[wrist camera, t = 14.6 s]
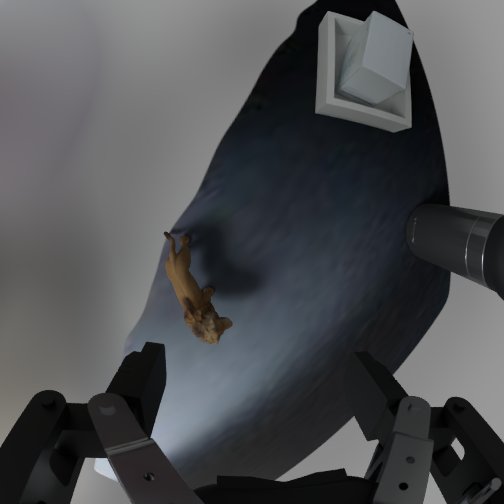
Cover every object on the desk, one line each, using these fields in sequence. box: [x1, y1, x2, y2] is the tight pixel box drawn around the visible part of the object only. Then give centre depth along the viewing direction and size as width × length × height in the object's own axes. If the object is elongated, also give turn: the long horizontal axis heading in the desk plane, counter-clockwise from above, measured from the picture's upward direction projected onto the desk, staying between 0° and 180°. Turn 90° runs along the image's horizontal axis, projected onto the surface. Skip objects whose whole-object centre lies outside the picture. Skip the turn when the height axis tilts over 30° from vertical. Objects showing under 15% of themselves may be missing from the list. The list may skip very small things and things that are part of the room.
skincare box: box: [334, 11, 413, 108], centre depth 28 cm, size 10×6×10 cm, turn 162°
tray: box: [315, 11, 411, 132], centre depth 32 cm, size 13×16×5 cm
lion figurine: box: [164, 232, 232, 344], centre depth 35 cm, size 15×5×9 cm, turn 31°
